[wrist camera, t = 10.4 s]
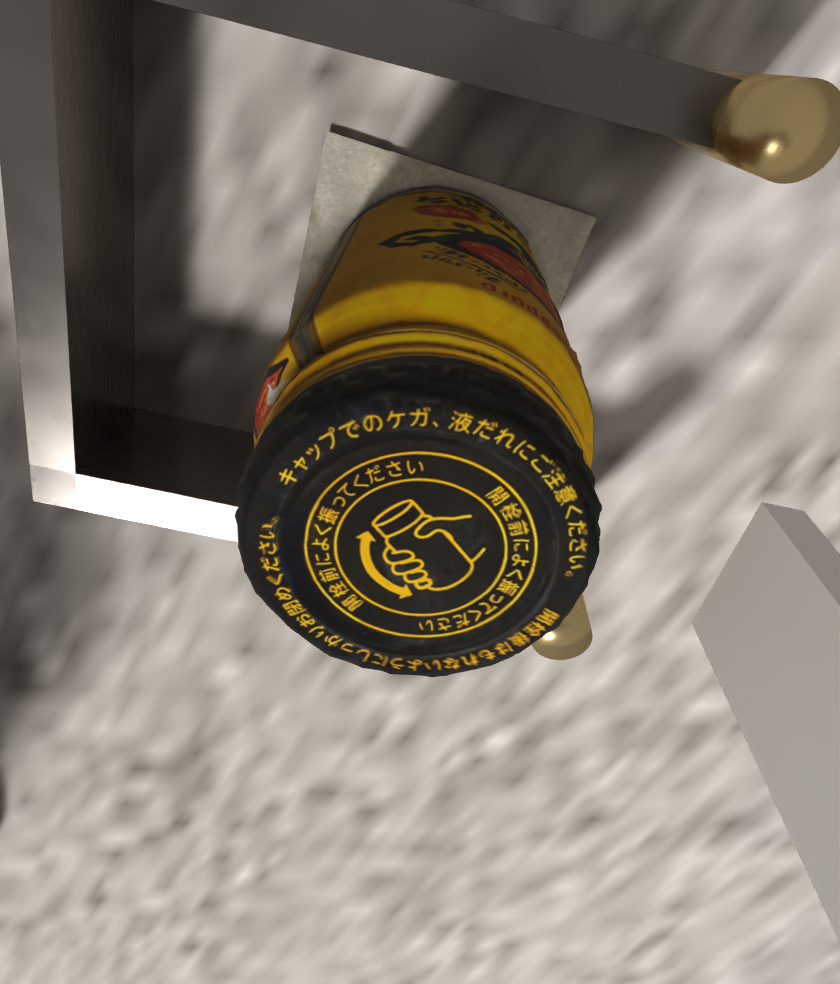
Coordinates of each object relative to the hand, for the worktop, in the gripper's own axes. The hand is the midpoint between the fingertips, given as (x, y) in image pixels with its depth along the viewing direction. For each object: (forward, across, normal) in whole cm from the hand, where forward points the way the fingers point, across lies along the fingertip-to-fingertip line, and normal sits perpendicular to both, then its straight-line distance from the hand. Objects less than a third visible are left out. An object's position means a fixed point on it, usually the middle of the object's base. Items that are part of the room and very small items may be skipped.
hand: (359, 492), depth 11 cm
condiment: (+10, +1, 0) cm, 10 cm away
